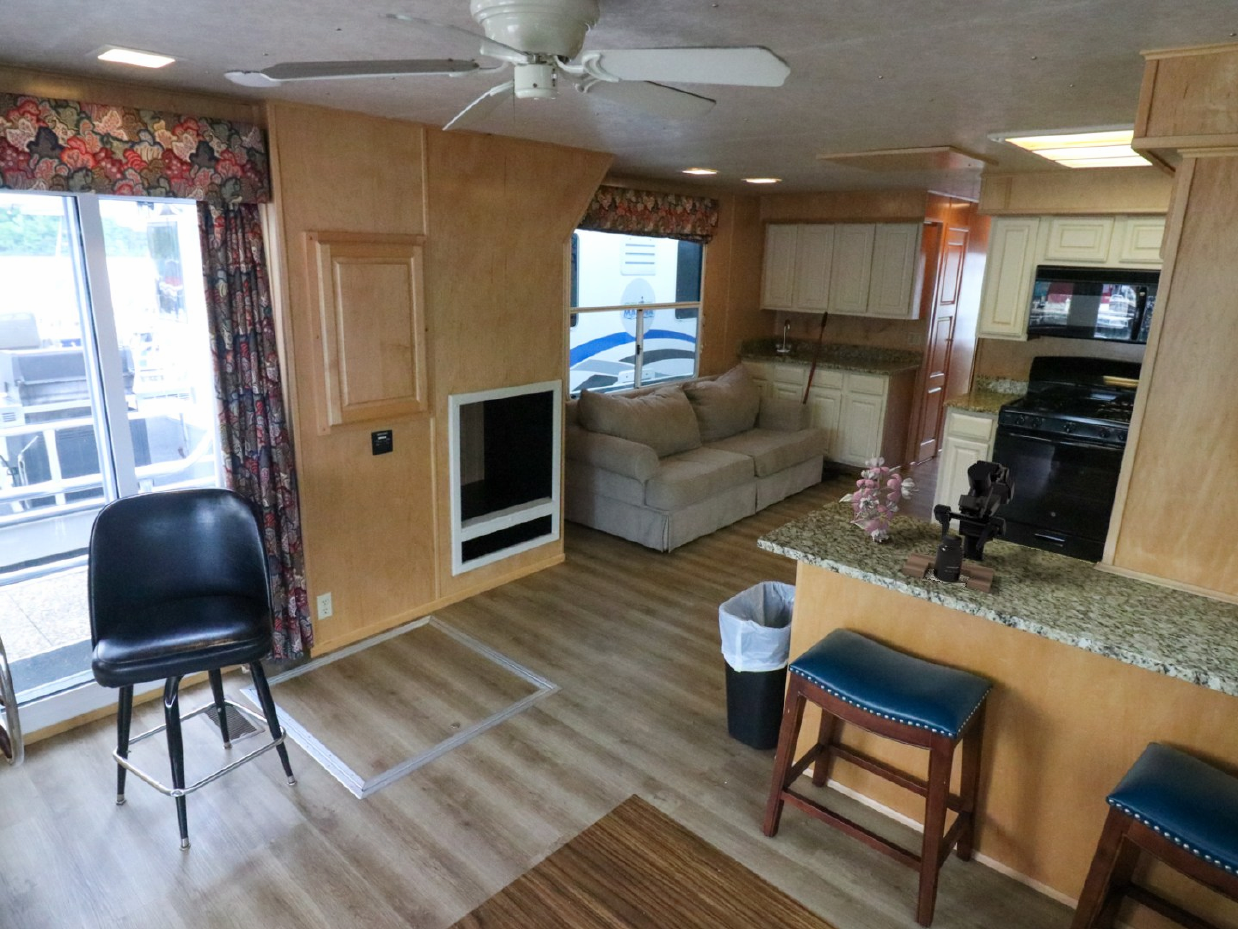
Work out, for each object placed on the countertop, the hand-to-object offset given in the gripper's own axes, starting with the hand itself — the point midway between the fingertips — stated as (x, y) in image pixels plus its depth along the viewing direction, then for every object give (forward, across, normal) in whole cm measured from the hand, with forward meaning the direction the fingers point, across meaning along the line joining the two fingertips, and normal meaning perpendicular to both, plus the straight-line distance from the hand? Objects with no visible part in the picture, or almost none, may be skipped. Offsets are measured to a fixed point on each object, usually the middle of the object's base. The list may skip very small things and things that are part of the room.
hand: (959, 544), depth 215 cm
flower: (-3, -29, +14) cm, 32 cm away
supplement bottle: (+11, 0, 0) cm, 11 cm away
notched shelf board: (+9, -1, +3) cm, 9 cm away
